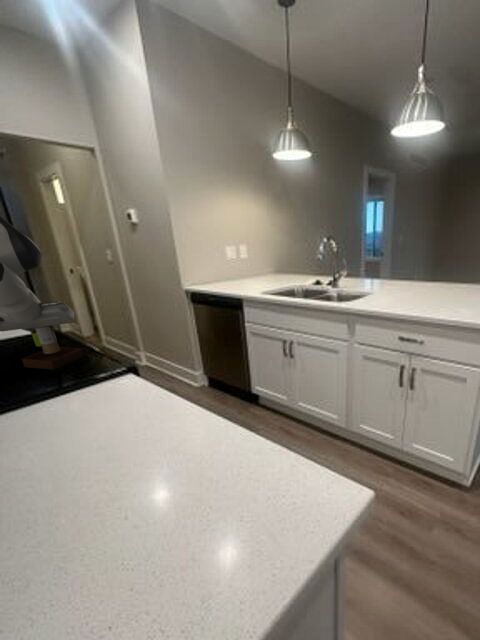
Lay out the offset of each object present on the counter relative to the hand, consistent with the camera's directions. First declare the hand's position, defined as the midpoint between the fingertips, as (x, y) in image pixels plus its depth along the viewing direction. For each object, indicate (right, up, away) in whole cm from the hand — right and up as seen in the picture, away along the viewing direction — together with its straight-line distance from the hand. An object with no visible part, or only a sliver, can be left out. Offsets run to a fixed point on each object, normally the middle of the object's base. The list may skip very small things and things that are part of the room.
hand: (45, 330), depth 108 cm
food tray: (+1, -10, +3) cm, 11 cm away
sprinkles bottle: (+1, -7, +2) cm, 7 cm away
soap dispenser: (-16, -4, +21) cm, 27 cm away
